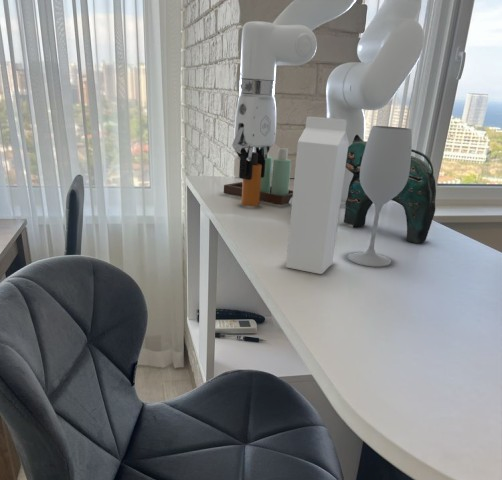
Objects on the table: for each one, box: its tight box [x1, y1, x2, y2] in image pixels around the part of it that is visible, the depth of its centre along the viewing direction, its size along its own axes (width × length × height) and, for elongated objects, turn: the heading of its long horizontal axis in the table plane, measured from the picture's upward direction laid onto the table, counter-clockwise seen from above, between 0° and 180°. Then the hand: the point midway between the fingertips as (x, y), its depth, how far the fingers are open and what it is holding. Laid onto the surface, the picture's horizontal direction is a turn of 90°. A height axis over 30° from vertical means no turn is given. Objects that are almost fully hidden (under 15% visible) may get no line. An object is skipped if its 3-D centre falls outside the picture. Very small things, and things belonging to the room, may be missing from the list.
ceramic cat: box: [343, 135, 437, 244], centre depth 100 cm, size 20×6×20 cm, turn 45°
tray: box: [223, 181, 293, 206], centre depth 127 cm, size 18×9×3 cm, turn 54°
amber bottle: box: [240, 151, 262, 207], centre depth 116 cm, size 4×4×12 cm
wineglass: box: [347, 125, 413, 268], centre depth 82 cm, size 8×8×21 cm
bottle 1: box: [260, 151, 273, 193], centre depth 125 cm, size 4×4×12 cm
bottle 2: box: [271, 147, 292, 195], centre depth 122 cm, size 4×4×12 cm
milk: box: [285, 115, 349, 275], centre depth 76 cm, size 6×6×22 cm
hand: (251, 176), depth 116 cm, fingers closed on amber bottle, 4 cm apart
